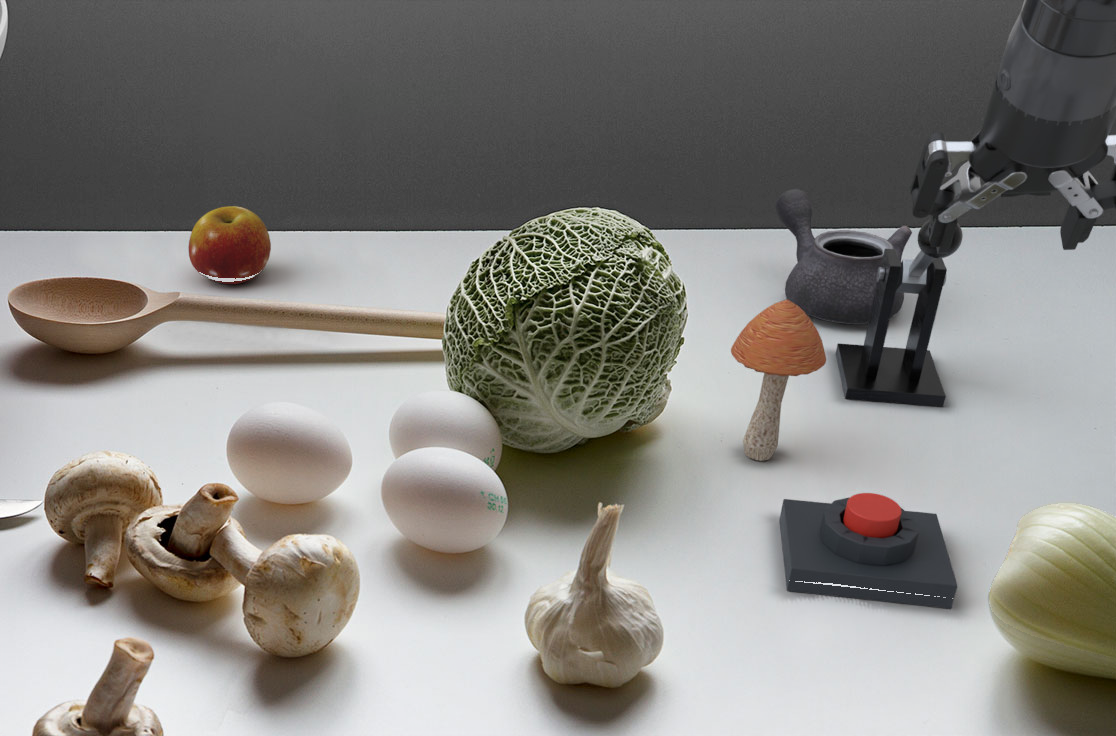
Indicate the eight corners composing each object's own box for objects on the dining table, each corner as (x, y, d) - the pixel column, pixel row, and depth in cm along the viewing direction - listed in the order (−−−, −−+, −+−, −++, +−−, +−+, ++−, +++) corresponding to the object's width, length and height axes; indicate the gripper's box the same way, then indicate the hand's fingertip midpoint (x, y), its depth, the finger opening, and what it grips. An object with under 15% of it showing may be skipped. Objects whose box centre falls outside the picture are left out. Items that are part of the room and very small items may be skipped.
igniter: (893, 513, 102) (898, 495, 101) (900, 542, 99) (905, 523, 98) (840, 508, 103) (844, 490, 102) (845, 536, 100) (850, 517, 99)
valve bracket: (943, 407, 124) (975, 283, 117) (845, 399, 126) (871, 276, 119) (927, 360, 132) (956, 242, 125) (835, 353, 134) (859, 236, 127)
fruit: (203, 298, 147) (197, 231, 143) (181, 270, 154) (175, 205, 150) (283, 284, 150) (279, 218, 146) (257, 257, 157) (254, 193, 153)
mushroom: (782, 427, 121) (810, 278, 113) (822, 471, 114) (854, 316, 106) (701, 435, 120) (724, 285, 112) (737, 480, 113) (763, 324, 105)
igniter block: (930, 535, 106) (942, 494, 104) (951, 609, 98) (963, 566, 96) (779, 520, 108) (787, 479, 106) (786, 591, 100) (795, 548, 98)
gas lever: (966, 250, 111) (969, 211, 111) (922, 248, 111) (924, 208, 112) (926, 300, 124) (928, 264, 124) (886, 298, 124) (889, 262, 125)
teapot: (942, 309, 143) (964, 222, 137) (845, 342, 136) (864, 252, 130) (811, 254, 156) (826, 173, 151) (717, 282, 149) (729, 198, 144)
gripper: (1179, 24, 81) (1101, 200, 95) (936, 39, 85) (896, 207, 98) (1201, 112, 78) (1117, 281, 92) (947, 123, 81) (903, 285, 95)
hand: (1002, 242), depth 95 cm, fingers open, 8 cm apart
